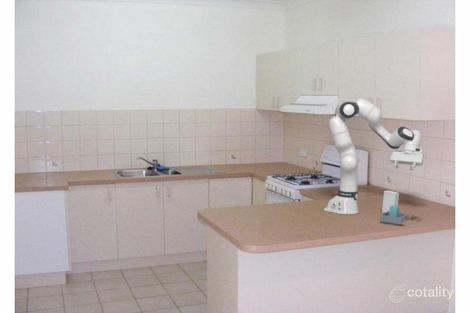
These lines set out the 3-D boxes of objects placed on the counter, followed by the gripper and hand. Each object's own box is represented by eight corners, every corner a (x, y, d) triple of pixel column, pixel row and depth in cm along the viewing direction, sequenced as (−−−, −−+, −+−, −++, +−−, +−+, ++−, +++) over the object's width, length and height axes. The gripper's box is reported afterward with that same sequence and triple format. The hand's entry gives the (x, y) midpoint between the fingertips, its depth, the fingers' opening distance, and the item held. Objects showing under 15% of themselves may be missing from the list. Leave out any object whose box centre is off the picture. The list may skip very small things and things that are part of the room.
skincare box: (381, 213, 341) (382, 191, 339) (385, 212, 346) (386, 190, 344) (394, 216, 336) (395, 193, 334) (398, 214, 340) (399, 191, 339)
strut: (388, 221, 318) (389, 206, 316) (391, 220, 321) (392, 205, 320) (396, 222, 315) (396, 207, 314) (398, 221, 318) (399, 206, 317)
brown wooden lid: (399, 220, 323) (399, 213, 323) (405, 217, 333) (406, 209, 332) (419, 223, 316) (419, 215, 316) (425, 220, 326) (425, 212, 325)
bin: (379, 223, 317) (380, 214, 316) (387, 219, 327) (387, 211, 326) (400, 226, 309) (401, 218, 309) (407, 222, 319) (408, 214, 319)
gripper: (392, 147, 341) (386, 163, 334) (424, 149, 329) (418, 167, 322) (394, 153, 345) (388, 170, 338) (426, 156, 333) (420, 173, 326)
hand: (403, 168), depth 330 cm, fingers open, 8 cm apart
